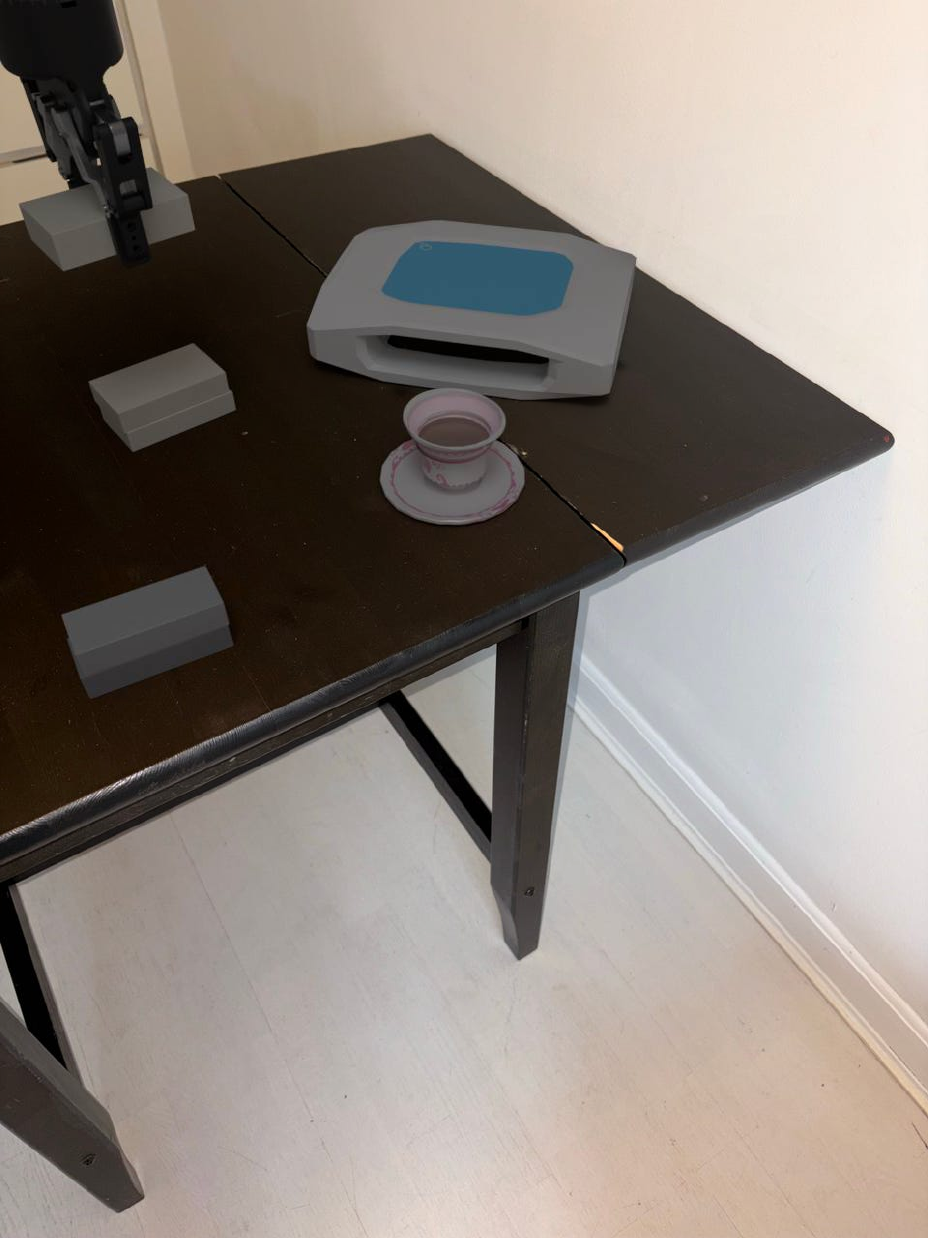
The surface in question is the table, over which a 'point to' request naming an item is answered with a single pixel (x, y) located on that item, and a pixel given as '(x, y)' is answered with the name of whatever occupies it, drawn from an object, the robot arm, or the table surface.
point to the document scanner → (476, 308)
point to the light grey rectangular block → (100, 221)
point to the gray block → (147, 631)
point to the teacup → (452, 460)
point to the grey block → (163, 396)
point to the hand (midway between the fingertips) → (116, 245)
